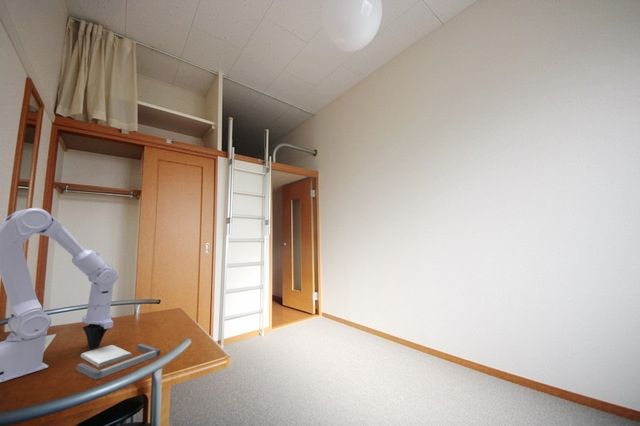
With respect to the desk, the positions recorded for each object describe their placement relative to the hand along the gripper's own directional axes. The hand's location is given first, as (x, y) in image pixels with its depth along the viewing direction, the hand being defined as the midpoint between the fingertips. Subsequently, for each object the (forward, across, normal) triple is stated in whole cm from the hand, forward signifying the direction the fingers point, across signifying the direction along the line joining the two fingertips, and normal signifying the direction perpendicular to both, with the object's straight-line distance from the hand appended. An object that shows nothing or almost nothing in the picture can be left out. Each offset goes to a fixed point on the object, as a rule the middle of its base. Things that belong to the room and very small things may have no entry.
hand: (93, 348), depth 79 cm
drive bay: (+1, -16, 0) cm, 16 cm away
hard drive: (+2, -8, 0) cm, 8 cm away
